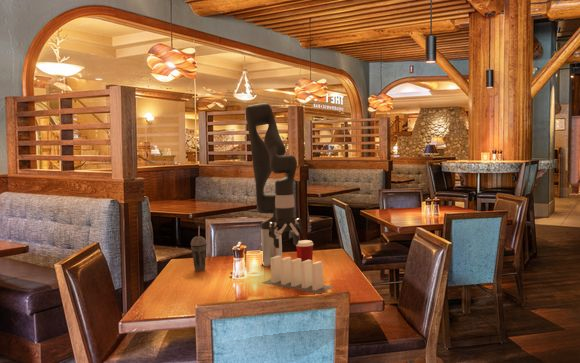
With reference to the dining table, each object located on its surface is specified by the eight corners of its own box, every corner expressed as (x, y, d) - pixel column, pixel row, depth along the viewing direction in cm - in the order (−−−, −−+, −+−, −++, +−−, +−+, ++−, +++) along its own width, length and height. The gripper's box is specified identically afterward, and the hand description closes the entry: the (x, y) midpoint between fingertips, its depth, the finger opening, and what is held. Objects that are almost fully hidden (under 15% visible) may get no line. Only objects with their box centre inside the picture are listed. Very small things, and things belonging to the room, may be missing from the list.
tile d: (301, 287, 196) (300, 262, 195) (309, 284, 200) (308, 259, 199) (305, 288, 195) (304, 262, 194) (312, 285, 199) (311, 260, 198)
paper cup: (317, 272, 221) (316, 240, 219) (310, 276, 214) (309, 243, 212) (300, 271, 224) (299, 239, 223) (293, 275, 217) (292, 242, 216)
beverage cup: (188, 271, 230) (186, 227, 229) (197, 267, 237) (195, 224, 235) (202, 272, 228) (200, 227, 226) (211, 268, 234) (208, 225, 233)
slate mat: (261, 284, 205) (261, 282, 205) (276, 278, 213) (276, 277, 213) (319, 295, 188) (319, 293, 188) (333, 288, 196) (333, 286, 196)
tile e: (312, 289, 193) (311, 263, 192) (319, 286, 197) (319, 261, 196) (315, 290, 192) (315, 264, 191) (323, 287, 196) (322, 261, 195)
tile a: (271, 282, 205) (270, 257, 204) (279, 279, 209) (278, 255, 208) (274, 283, 204) (273, 258, 203) (282, 280, 208) (281, 255, 207)
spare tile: (302, 283, 202) (301, 258, 201) (294, 286, 198) (293, 261, 197) (298, 282, 203) (298, 258, 202) (291, 286, 199) (290, 260, 198)
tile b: (281, 284, 202) (280, 259, 201) (288, 281, 206) (287, 256, 205) (284, 284, 201) (283, 259, 200) (291, 281, 205) (291, 257, 204)
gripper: (273, 208, 194) (275, 250, 196) (305, 204, 201) (306, 245, 203) (264, 206, 200) (266, 247, 202) (295, 202, 208) (296, 242, 209)
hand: (286, 246), depth 202 cm, fingers open, 8 cm apart
